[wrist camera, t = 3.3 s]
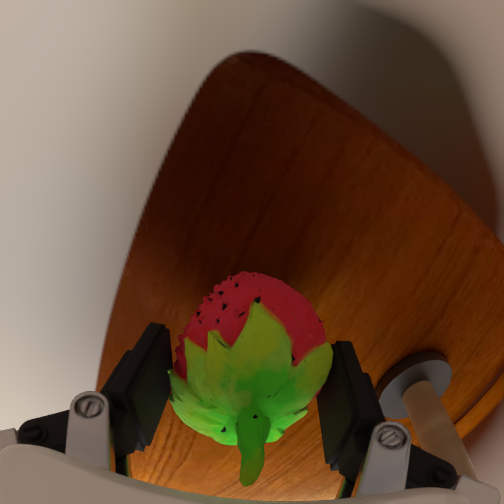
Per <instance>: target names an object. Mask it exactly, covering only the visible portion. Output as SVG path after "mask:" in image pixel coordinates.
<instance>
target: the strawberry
mask: <svg viewBox="0 0 504 504" xmlns="http://www.w3.org/2000/svg"><path fill="white" fill-rule="evenodd" d="M190 317H191V321H190V322H189V324H188V325H186V327H184V328H183V329H184V330H185V332H184V334H182V335H178V339H179V341H180V346H177V347H176V349H175V352H176V353H177V354H176V356H177V361H176V362H175V363H174V368H173V369H170V370H167V371H168V374H169V377H170V383H171V385H170V387H171V389H172V393H171V394H169V400H170V402H171V404H172V406H173V408H174V411H175V412H176V414H177V415H178V416H179V417H180V419H181V420H182V421H183V422H184V423H185V424H187V425H188V426H190V427H191V428H193V429H194V430H196V431H198V432H199V433H201V434H204V435H206V436H209V437H212V438H213V439H214V440H215V441H217V442H219V443H222V444H225V445H238V448H239V450H240V452H241V454H242V459H241V469H240V482H241V484H242V485H244V486H245V487H247V486H249V485H251V484H253V483H254V482H255V481H256V480H257V478H258V476H259V474H260V472H261V470H262V468H263V466H264V454H265V452H264V444H265V443H266V442H274V441H276V440H278V439H279V438H280V437H281V436H282V435H283V434H284V430H285V429H286V428H287V427H289V426H290V425H291V424H293V423H294V422H296V421H297V420H299V419H301V418H302V417H304V416H305V414H306V413H307V412H308V409H307V404H308V403H309V402H310V401H311V400H312V399H313V398H314V397H316V396H317V395H318V394H319V393H320V391H321V388H322V386H323V384H324V383H325V382H326V379H327V376H328V374H329V371H330V369H331V366H332V358H333V350H332V348H331V346H330V344H329V343H328V342H327V341H326V337H325V330H324V327H323V323H324V321H320V318H319V317H318V316H317V314H316V313H315V311H314V310H313V308H312V305H311V302H310V301H309V300H308V299H306V298H305V297H303V296H302V295H301V294H300V293H299V291H296V290H295V289H294V288H293V286H289V285H287V284H285V283H284V282H283V281H282V280H278V279H277V278H276V279H275V278H272V276H267V275H264V274H262V273H257V272H256V271H255V272H253V273H248V272H245V271H244V272H243V271H241V272H240V273H239V274H237V275H235V276H229V275H228V278H227V280H226V281H222V283H221V284H217V285H214V293H213V292H212V293H210V296H207V297H203V304H201V303H200V305H199V310H198V311H194V315H190Z"/></svg>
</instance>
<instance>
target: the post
mask: <svg viewBox="0 0 504 504" xmlns="http://www.w3.org/2000/svg"><path fill="white" fill-rule="evenodd" d="M451 377H452V370H451V367H450V365H449V364H448V362H447V361H446V359H445V358H444V357H443V356H442V355H441V354H439V353H437V352H422V353H418V354H415V355H412V356H410V357H408V358H406V359H404V360H402V361H401V362H399V363H398V364H396V365H395V366H394V367H393V368H391V369H390V370H389V371H388V372H387V373H386V374H385V375H384V377H383V378H382V379H381V381H380V382H379V384H378V386H377V388H376V395H377V398H378V400H379V403H380V406H381V409H382V412H383V415H384V416H385V417H387V418H391V419H401V418H406V417H409V418H410V420H411V423H412V425H413V428H414V430H415V433H416V435H417V438H418V440H419V443H420V445H421V448H422V449H423V450H425V451H427V452H429V453H431V454H433V455H435V456H437V457H439V458H441V459H443V460H445V461H447V462H449V463H450V464H452V465H453V467H454V468H455V470H456V472H457V475H459V476H460V475H461V474H464V475H466V476H469V477H471V478H473V479H476V480H478V481H479V479H478V477H477V474H476V472H475V469H474V467H473V465H472V463H471V460H470V458H469V456H468V454H467V452H466V449H465V447H464V445H463V443H462V441H461V439H460V437H459V435H458V433H457V431H456V429H455V427H454V425H453V423H452V421H451V419H450V417H449V415H448V413H447V411H446V410H445V408H444V406H443V404H442V402H441V400H440V397H441V396H442V394H443V393H444V392H445V390H446V389H447V387H448V385H449V383H450V381H451Z"/></svg>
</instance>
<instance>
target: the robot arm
mask: <svg viewBox="0 0 504 504" xmlns="http://www.w3.org/2000/svg"><path fill="white" fill-rule="evenodd" d="M331 348H332V350H333V358H332V366H331V369H330V371H329V374H328V376H327V379H326V382H325V383H324V384H323V386H322V388H321V391H320V393H319V394H318V395H317V404H318V411H319V418H320V425H321V433H322V440H323V448H324V456H325V462H326V464H330V468H331V471H334V470H339V474H341V475H343V478H342V481H341V484H340V487H339V490H338V492H337V495H336V498H335V499H333V500H320V501H255V500H242V499H231V498H223V497H215V496H208V495H202V494H196V493H190V492H185V491H180V490H175V489H171V488H166V487H162V486H158V485H154V484H150V483H147V482H143V481H140V480H136V479H133V478H132V471H131V462H130V454H131V453H134V451H135V450H139V451H143V452H144V449H145V446H146V445H147V446H150V444H151V442H152V440H153V437H154V434H155V432H156V429H157V426H158V424H159V421H160V418H161V416H162V413H163V410H164V408H165V405H166V403H167V400H168V397H169V394H170V392H171V390H172V389H171V387H170V385H171V383H170V377H169V374H168V371H167V370H170V369H173V362H172V352H171V342H170V331H169V329H167V328H165V325H164V324H158V323H152V322H151V323H150V324H149V325H148V326H147V328H146V329H145V331H144V333H143V334H142V336H141V337H140V339H139V340H138V342H137V343H136V345H135V346H134V348H133V350H128V351H126V353H125V354H124V355H123V357H122V358H121V360H120V362H119V363H118V365H117V366H116V368H115V369H114V371H113V372H112V374H111V376H110V377H109V379H108V380H107V382H106V383H105V385H104V387H103V388H102V390H101V391H100V393H99V392H95V391H86V392H83V393H80V394H78V395H77V396H75V398H74V399H73V400H72V402H71V405H70V410H66V411H62V412H59V413H55V414H51V415H47V416H43V417H40V418H35V419H31V420H28V421H26V422H24V423H23V424H22V425H21V427H20V428H19V430H18V431H16V429H15V428H12V429H7V430H2V431H0V504H499V502H500V493H499V491H498V490H497V489H496V488H495V487H493V486H490V485H488V484H485V483H483V482H481V481H478V480H476V479H473V478H471V477H469V476H466V475H464V474H461V475H460V476H459V475H457V472H456V470H455V468H454V467H453V465H452V464H450V463H449V462H447V461H445V460H443V459H441V458H439V457H437V456H435V455H433V454H431V453H429V452H427V451H425V450H423V449H421V448H419V447H417V446H415V445H413V444H411V434H410V432H409V430H408V429H407V428H406V427H405V426H404V425H402V424H401V423H398V422H395V421H386V420H385V417H384V415H383V412H382V409H381V406H380V403H379V400H378V398H377V395H376V392H375V389H374V387H373V384H372V381H371V379H370V376H369V374H368V373H363V372H362V369H361V366H360V364H359V361H358V358H357V356H356V353H355V350H354V347H353V345H352V343H351V341H336V343H335V344H332V345H331Z"/></svg>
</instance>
